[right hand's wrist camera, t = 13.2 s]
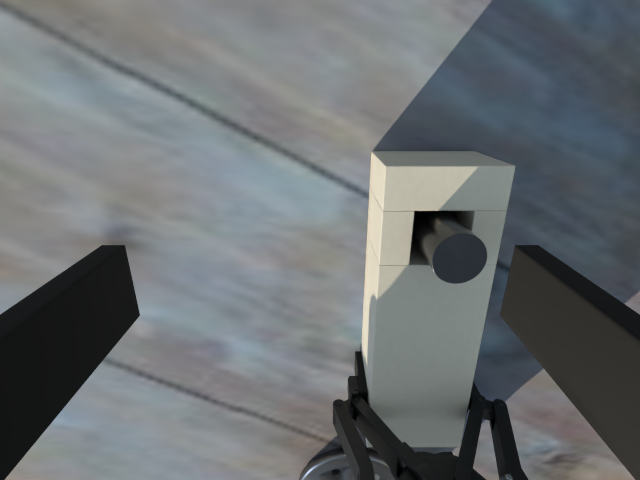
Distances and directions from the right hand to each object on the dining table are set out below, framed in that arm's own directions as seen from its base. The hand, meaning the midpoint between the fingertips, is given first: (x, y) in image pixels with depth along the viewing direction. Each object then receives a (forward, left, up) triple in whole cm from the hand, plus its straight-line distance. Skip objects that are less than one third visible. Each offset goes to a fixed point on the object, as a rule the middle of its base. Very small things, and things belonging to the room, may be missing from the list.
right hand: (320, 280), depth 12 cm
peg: (+5, +10, -25) cm, 27 cm away
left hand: (+24, +10, -24) cm, 36 cm away
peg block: (+14, +10, -25) cm, 30 cm away
